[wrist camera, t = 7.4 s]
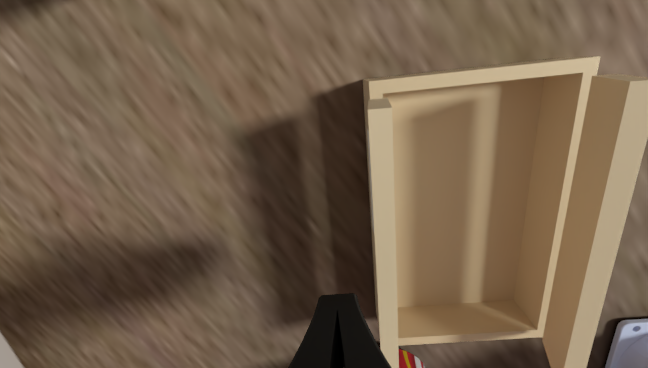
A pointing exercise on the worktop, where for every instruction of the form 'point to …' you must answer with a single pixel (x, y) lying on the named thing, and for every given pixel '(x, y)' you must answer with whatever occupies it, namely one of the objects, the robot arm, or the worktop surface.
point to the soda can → (409, 360)
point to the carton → (480, 193)
